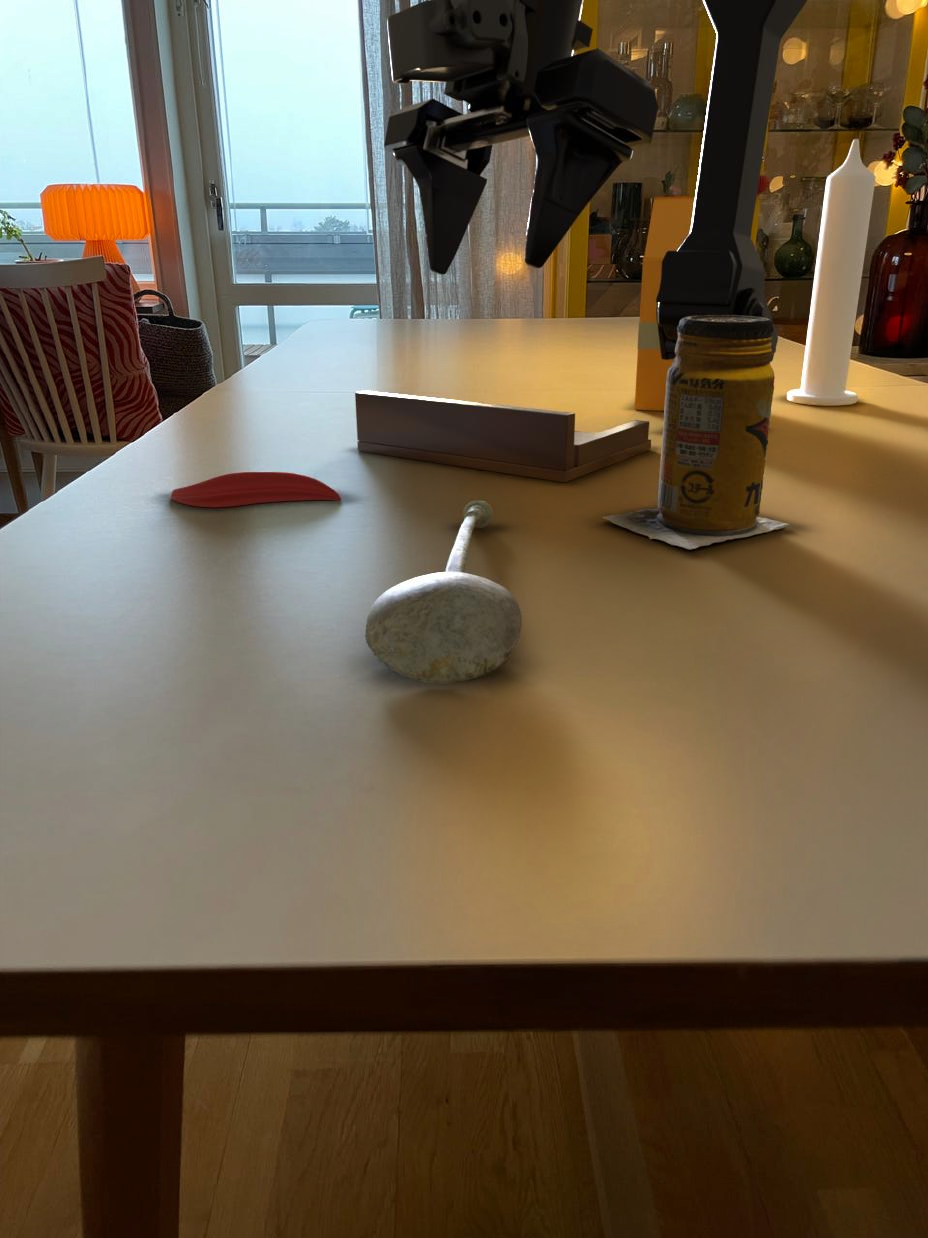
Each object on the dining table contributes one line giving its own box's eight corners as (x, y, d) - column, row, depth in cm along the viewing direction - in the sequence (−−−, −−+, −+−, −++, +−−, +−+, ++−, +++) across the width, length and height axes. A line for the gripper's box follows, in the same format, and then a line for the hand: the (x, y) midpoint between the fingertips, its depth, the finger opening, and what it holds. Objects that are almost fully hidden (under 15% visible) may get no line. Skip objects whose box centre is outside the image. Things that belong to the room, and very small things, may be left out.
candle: (867, 405, 97) (908, 134, 87) (798, 406, 97) (832, 135, 87) (842, 395, 103) (878, 141, 94) (778, 395, 103) (807, 142, 94)
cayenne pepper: (154, 504, 62) (151, 476, 62) (187, 487, 67) (184, 461, 66) (326, 512, 60) (324, 483, 59) (348, 494, 64) (346, 467, 64)
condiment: (789, 527, 56) (816, 317, 52) (689, 552, 52) (708, 325, 47) (698, 502, 62) (715, 311, 57) (601, 522, 57) (611, 317, 53)
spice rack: (457, 425, 88) (456, 373, 87) (651, 449, 77) (654, 390, 76) (357, 450, 78) (354, 392, 76) (565, 482, 67) (567, 414, 65)
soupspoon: (349, 695, 37) (514, 708, 37) (348, 618, 36) (519, 630, 35) (426, 522, 57) (533, 529, 57) (427, 468, 56) (537, 475, 55)
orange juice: (721, 413, 93) (742, 192, 85) (633, 409, 96) (645, 195, 88) (729, 401, 100) (749, 196, 92) (646, 398, 103) (659, 198, 95)
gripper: (336, -26, 57) (293, 238, 59) (546, -141, 43) (479, 211, 45) (474, 55, 64) (431, 288, 66) (693, -20, 50) (628, 278, 52)
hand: (482, 269), depth 57 cm, fingers open, 9 cm apart
